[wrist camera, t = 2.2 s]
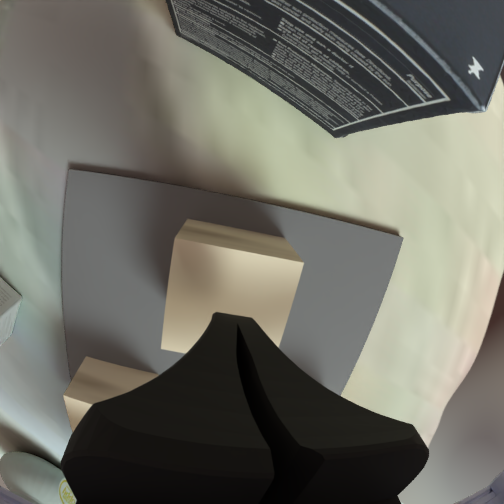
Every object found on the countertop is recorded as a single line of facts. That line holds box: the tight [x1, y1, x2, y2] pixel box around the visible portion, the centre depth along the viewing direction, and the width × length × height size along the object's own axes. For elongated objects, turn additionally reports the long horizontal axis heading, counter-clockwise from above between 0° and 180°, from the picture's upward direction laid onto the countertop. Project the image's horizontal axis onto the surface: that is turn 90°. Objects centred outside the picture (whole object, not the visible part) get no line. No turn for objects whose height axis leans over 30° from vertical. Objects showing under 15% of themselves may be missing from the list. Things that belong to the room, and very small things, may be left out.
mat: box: [62, 169, 403, 396], centre depth 17 cm, size 18×19×1 cm
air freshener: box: [0, 452, 77, 504], centre depth 17 cm, size 11×8×10 cm
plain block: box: [161, 219, 304, 354], centre depth 14 cm, size 5×5×4 cm
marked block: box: [63, 356, 159, 432], centre depth 16 cm, size 5×5×4 cm
